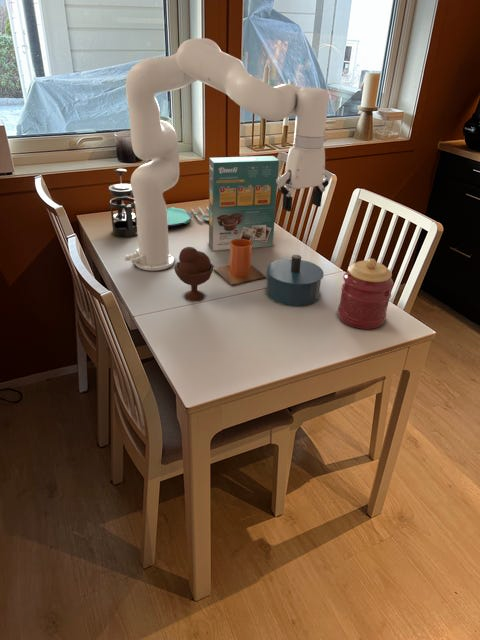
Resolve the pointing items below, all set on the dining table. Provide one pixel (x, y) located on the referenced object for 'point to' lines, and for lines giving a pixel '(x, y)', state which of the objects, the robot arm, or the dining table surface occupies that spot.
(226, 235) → the cake mix box
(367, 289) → the kitchen canister
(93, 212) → the dining table surface
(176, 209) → the cutlery set
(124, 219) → the french press
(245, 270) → the cup
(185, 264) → the ice cream bowl
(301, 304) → the pot
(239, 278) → the plate
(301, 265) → the lid
